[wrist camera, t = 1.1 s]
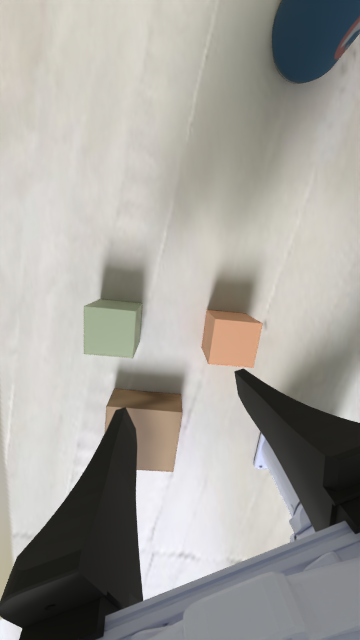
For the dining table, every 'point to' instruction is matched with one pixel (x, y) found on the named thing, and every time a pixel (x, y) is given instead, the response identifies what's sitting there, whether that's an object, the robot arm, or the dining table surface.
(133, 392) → the walnut block
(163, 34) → the dining table surface
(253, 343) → the terracotta cube
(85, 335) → the green cube
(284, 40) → the soda can
